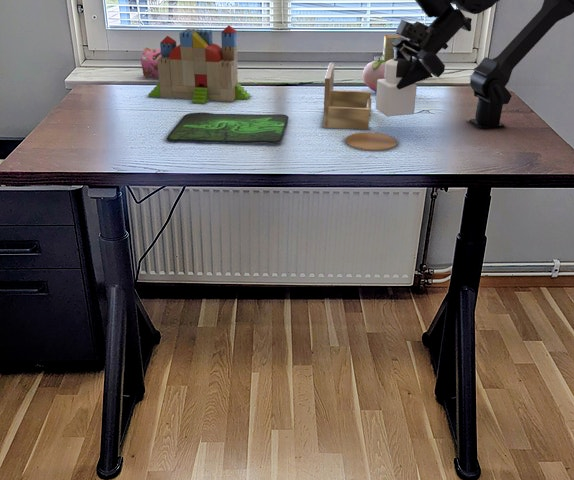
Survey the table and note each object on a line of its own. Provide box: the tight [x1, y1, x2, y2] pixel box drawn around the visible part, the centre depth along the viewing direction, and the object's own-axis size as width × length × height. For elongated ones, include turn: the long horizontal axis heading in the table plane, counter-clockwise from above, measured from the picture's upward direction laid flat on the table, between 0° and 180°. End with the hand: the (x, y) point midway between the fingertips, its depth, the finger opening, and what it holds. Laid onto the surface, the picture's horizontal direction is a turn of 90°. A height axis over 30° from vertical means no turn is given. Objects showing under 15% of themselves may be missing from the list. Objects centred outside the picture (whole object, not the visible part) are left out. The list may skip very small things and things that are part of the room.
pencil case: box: [140, 47, 162, 79], centre depth 198 cm, size 21×9×9 cm, turn 87°
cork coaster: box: [345, 132, 398, 152], centre depth 149 cm, size 12×12×1 cm
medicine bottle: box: [375, 59, 418, 118], centre depth 150 cm, size 7×7×12 cm
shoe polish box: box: [382, 34, 402, 62], centre depth 202 cm, size 5×5×12 cm
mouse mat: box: [166, 112, 289, 144], centre depth 156 cm, size 27×22×1 cm
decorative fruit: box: [362, 56, 386, 93], centre depth 185 cm, size 9×8×10 cm
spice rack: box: [322, 62, 372, 130], centre depth 162 cm, size 12×17×12 cm
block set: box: [148, 25, 251, 104], centre depth 177 cm, size 28×14×19 cm, turn 80°
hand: (391, 84), depth 149 cm, fingers closed on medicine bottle, 7 cm apart
